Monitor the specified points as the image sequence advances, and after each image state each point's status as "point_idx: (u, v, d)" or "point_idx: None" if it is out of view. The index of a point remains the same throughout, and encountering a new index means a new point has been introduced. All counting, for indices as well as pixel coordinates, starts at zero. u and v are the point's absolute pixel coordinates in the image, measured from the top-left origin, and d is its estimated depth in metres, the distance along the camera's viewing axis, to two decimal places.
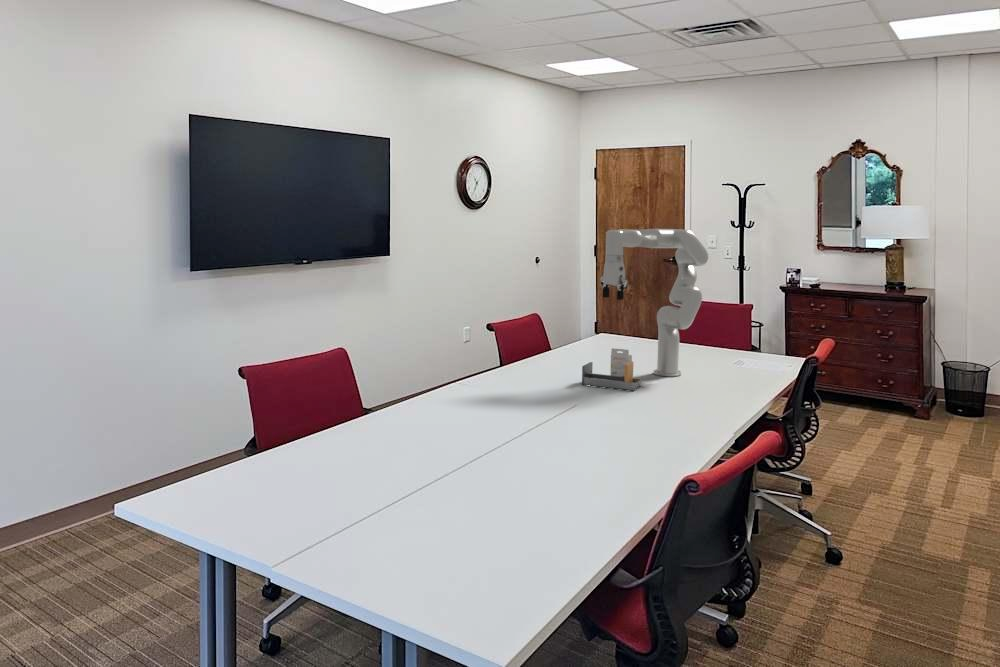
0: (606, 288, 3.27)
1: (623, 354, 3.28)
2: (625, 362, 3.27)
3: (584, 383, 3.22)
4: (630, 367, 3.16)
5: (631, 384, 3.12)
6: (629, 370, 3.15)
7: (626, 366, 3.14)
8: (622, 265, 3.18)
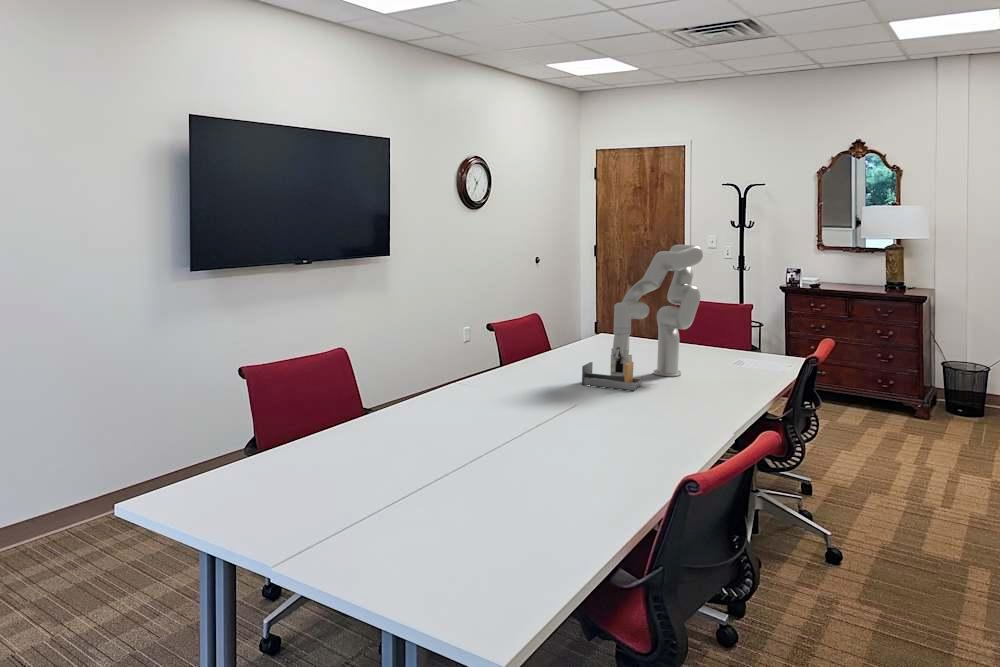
0: None
1: None
2: (625, 362, 3.27)
3: (584, 383, 3.22)
4: (630, 367, 3.16)
5: (631, 384, 3.12)
6: (629, 370, 3.15)
7: (626, 366, 3.14)
8: None
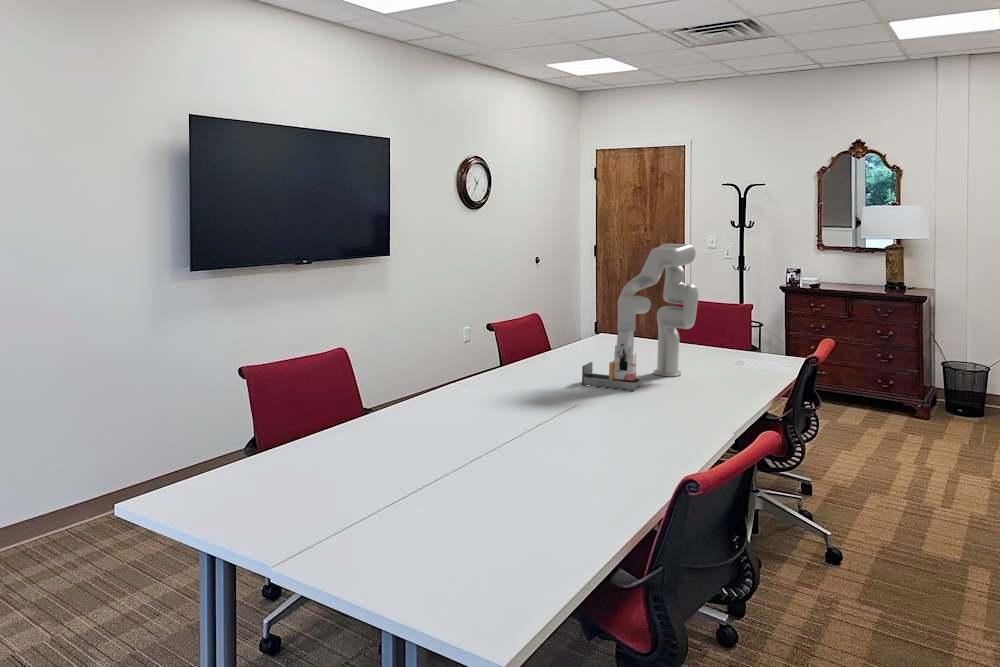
0: None
1: None
2: (629, 359, 3.14)
3: (584, 383, 3.22)
4: None
5: (631, 384, 3.12)
6: (613, 369, 3.18)
7: (611, 364, 3.17)
8: None
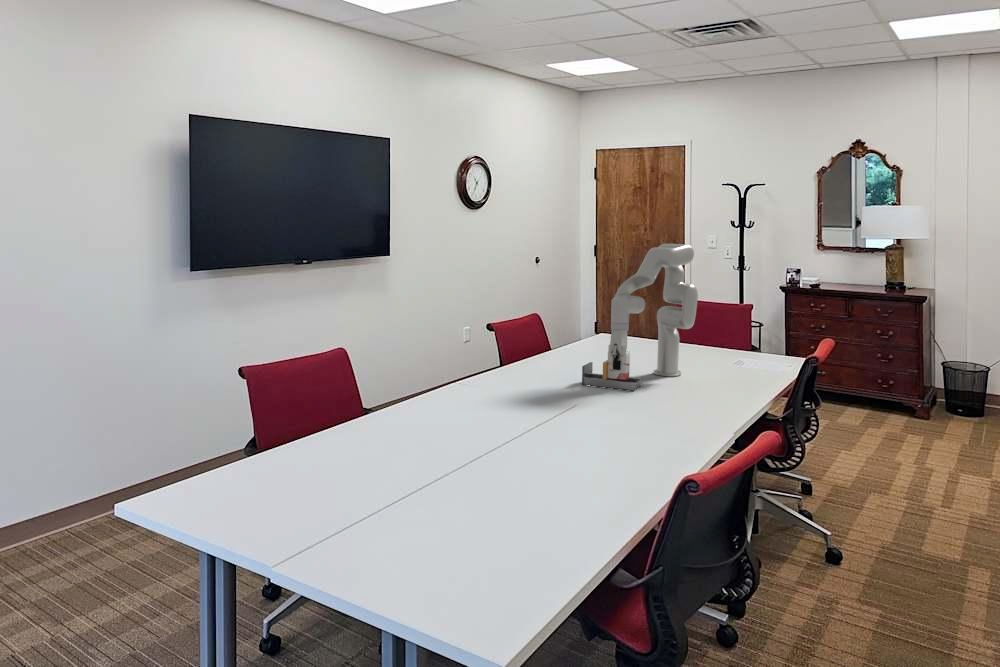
0: None
1: None
2: (622, 358, 3.15)
3: (584, 383, 3.22)
4: None
5: (631, 384, 3.12)
6: (607, 368, 3.19)
7: (604, 364, 3.18)
8: None
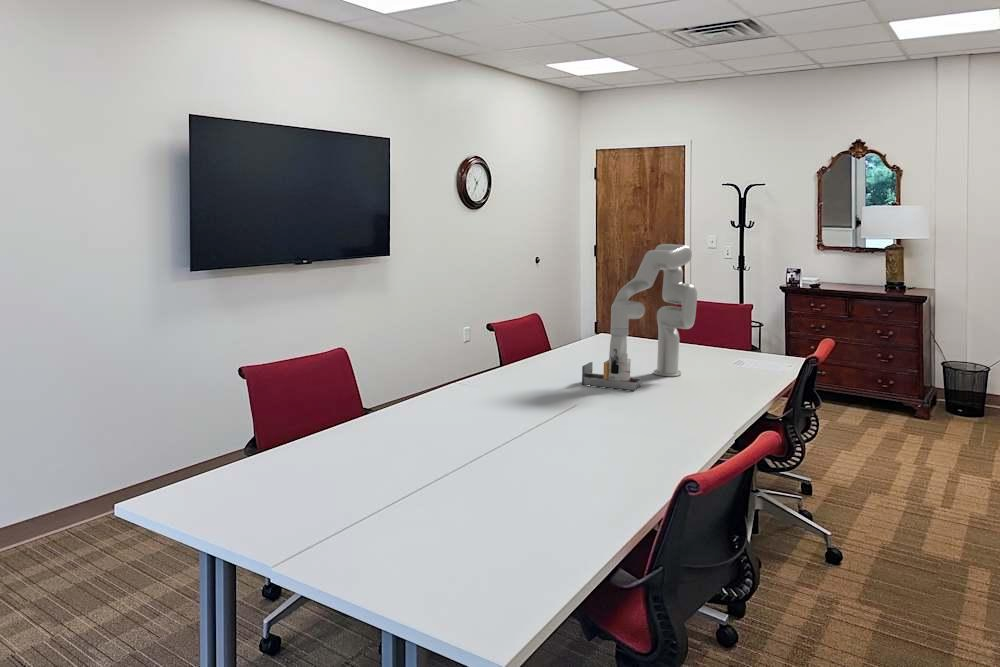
0: None
1: (621, 358, 3.16)
2: (623, 366, 3.16)
3: (584, 383, 3.22)
4: None
5: (631, 384, 3.12)
6: (608, 368, 3.19)
7: (605, 364, 3.18)
8: None
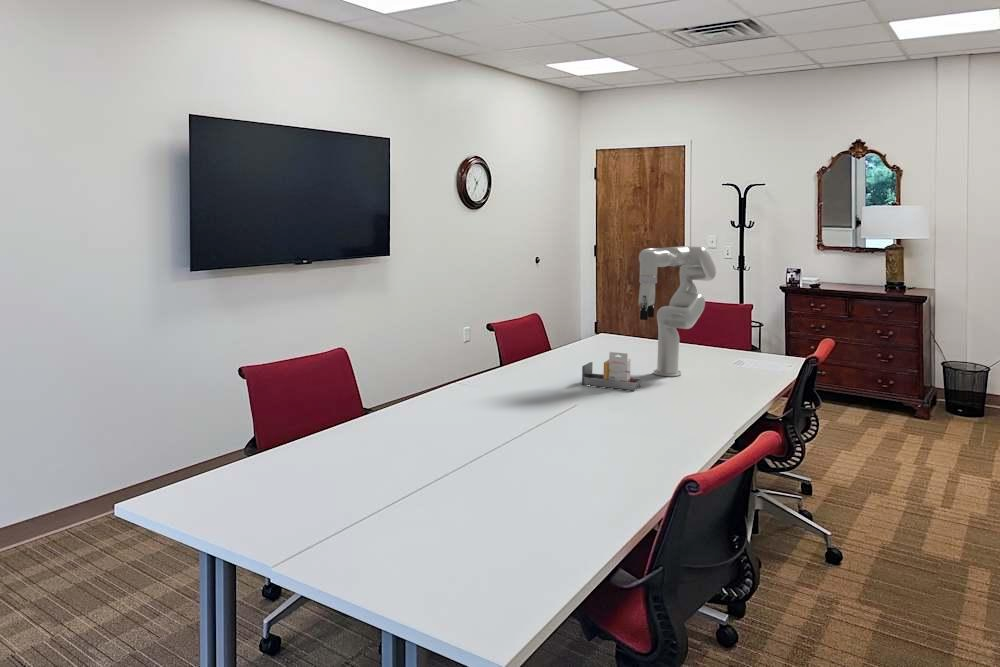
0: None
1: (621, 358, 3.16)
2: (623, 366, 3.16)
3: (584, 383, 3.22)
4: None
5: (631, 384, 3.12)
6: (608, 368, 3.19)
7: (605, 364, 3.18)
8: None
